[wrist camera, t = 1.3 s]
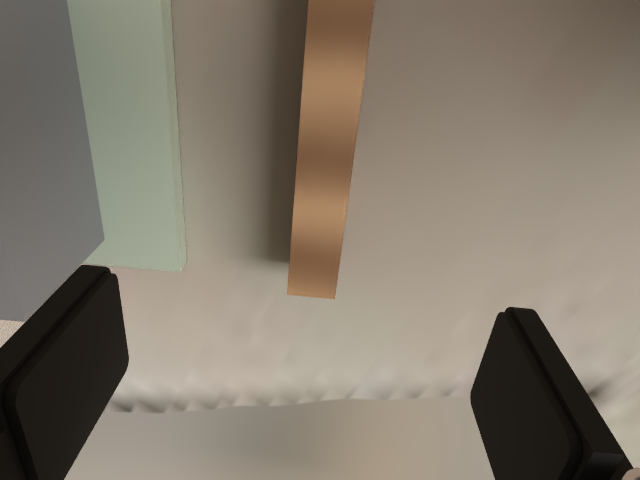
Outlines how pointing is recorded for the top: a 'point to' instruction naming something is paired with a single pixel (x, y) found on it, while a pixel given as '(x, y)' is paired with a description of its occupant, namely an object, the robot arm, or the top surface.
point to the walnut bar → (327, 140)
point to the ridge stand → (86, 144)
